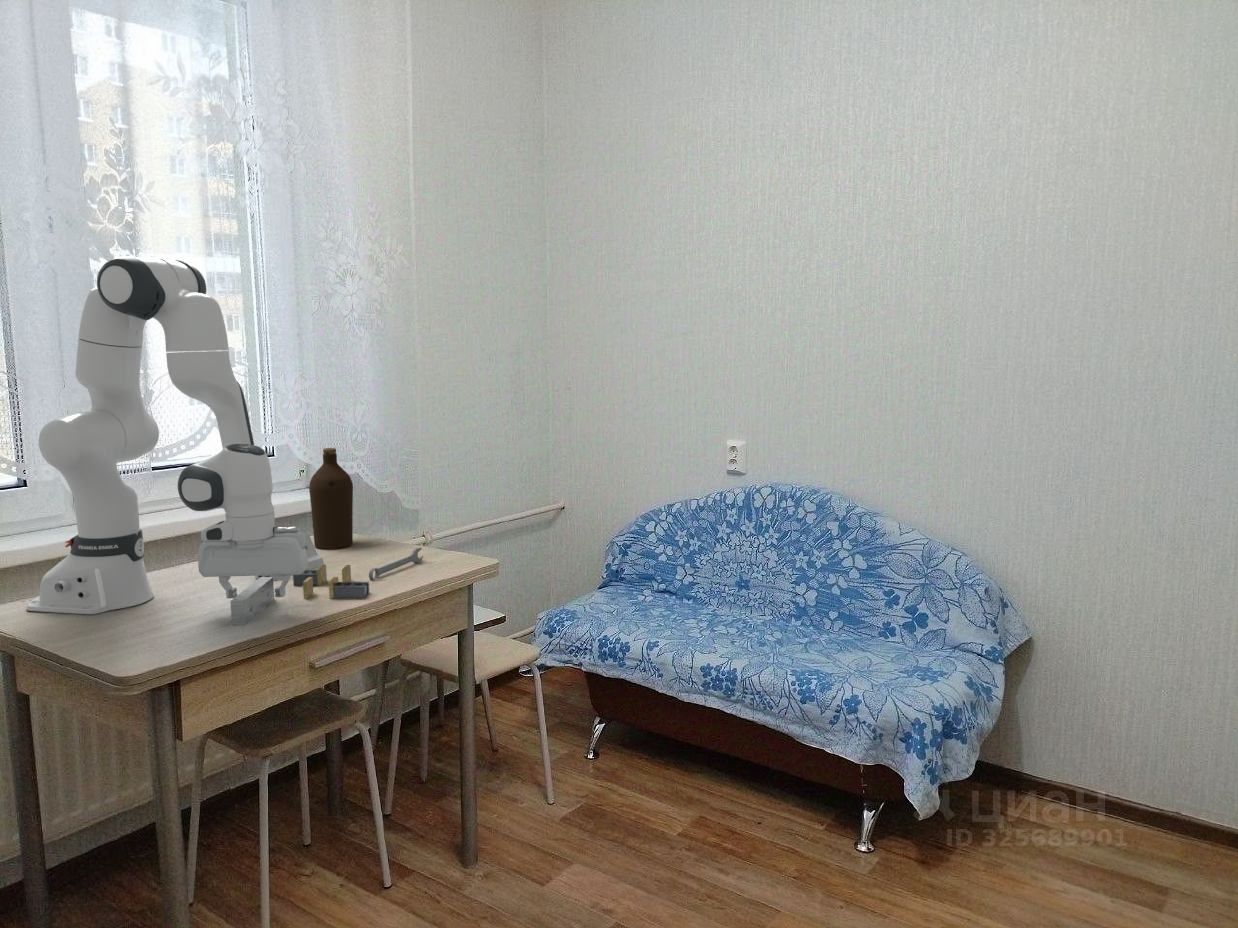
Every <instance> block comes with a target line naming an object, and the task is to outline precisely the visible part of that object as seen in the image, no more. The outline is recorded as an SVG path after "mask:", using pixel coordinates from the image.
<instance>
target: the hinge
mask: <svg viewBox="0 0 1238 928" xmlns="http://www.w3.org/2000/svg"><path fill="white" fill-rule="evenodd" d="M303 532H304V533H305V535H306V546H305V549H306V554H307V560H308V567H307V569H306V570H314V569H316V568H320V567H321V566H322V565H325V562H324V560H323V557H322V556H320V555H319V554H318V552H317V550H316V547H315V545H314V542H313V540H312V538H311V536H310V534H309V533H308V532H305V531H303ZM287 533H289V532H287ZM291 576H292V575H290V577H291ZM254 577H255V579H256V580H258V579H259V578H260V577H273V582H275V581H278V580H280V576H279V575H265V576H254Z"/></svg>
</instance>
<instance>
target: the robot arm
mask: <svg viewBox="0 0 1238 928" xmlns="http://www.w3.org/2000/svg"><path fill="white" fill-rule="evenodd" d="M152 319H154V320H156V321H157V322H158V323H159V324H160V325H161V327H162V329H163V333H164V341H165V352H166V353H165V354H166V355H165V356H166V366H167V371H168V376H169V378H170V380H171V383H172V384H173V385H174V387H175V388H176V389H177V390H178V391H179V392H181V393H182V394H184V395H185V396H187V397H189V398H191V399H193V400H196V401H199V402H200V403H202V404H204V405H206V406H207V407H208V408H209V409H210V410H211V411H212V412H213V414H214V416H215V418H216V422H217V427H218V428H217V429H218V431H219V432H218V433H219V436H220V442H221V447H222V450H221V451H220V452H218V453H217V454H215V455H213V456H212V457H209V458H207V459H205V460H201V461H198V462H195V463H193V464H191V465H188V466H186V467H185V468H183V469H182V471H181V472H180V474H179V476H178V479H177V491H178V492H177V493H178V496H179V497H180V500H181V502H182V503H183V504H184V505H185V507H187V508H188V509H190V510H192V511H195V512H209V511H215V510H216V509H223V510H224V512H225V514H224V515H225V520H221V521H218V522H217V523H214V524H211V525H210V526H208V527H205V528H204V529H202V530H201V532H200V539H201V540H202V543H200V545H199V548H198V555H197V559H198V560H197V561H198V562H197V564H198V572H199V574H200V575H201V576H202V577H204V578H214V577H215V578H216V577H217V578H218V582H219V584H220V586H222V588H223V589H224V591H225V595H226V599H227V600H228V599H230V600H231V599H234V598H235V597H236V596H237V595H238V593H237V591H238V588H237V587H233V586H232V584H231V582H230V581H229V580H230V579H231V577H255V576H265V575H279V576H280V579H279V581H282V582H281V584H280V586H277V587H275V588H274V598H284V597H286V586H287V585H288V583H289V581H290V579H291V576H293V575H300V574H302V573H303V572H304V571H305V570H306V569H307V567H308V560H307V554H306V549H305V546H306V535H305V533H306V532H305V531H303V530H302V529H300V528H298V527H297V526H290V527H283V526H277V527H276V520H275V508H274V505H273V503H272V493H273V478H272V477H273V476H272V470H271V464H270V460H269V457H268V454H267V452H266V451H265V449H264V448H262V447H260V446H258V445H255V442H254V441H255V440H254V436H253V432H252V427H251V426H252V425H251V421H250V417H249V416H250V415H249V411H248V407H247V402H246V398H245V395H244V392H243V388H242V386H241V384H240V383H239V381H238V380H237V379H236V376H235V374H234V371H233V368H232V367H233V366H232V363H231V357H230V351H229V341H228V334H227V329H226V328H227V327H226V324H225V320H224V315H223V312H222V308H221V306H220V304H219V302H218V301H217V300H216V299H215V298H214V297H212V296H210V295H208V294H207V283H206V280H205V277H204V276H203V274H202V273H201V271H200V270H199V269H198V268H196V267H194V266H193V265H192V264H189V263H188V262H185V261H182V260H178V259H170V258H164V257H160V256H159V257H158V256H148V257H147V256H140V257H138V256H137V257H136V256H135V257H134V256H129V255H127V256H126V255H125V256H121V257H116V258H113V259H110V260H109V261H107V262H105V263H104V264H103V265H102V266H101V268H100V269H99V272H98V274H97V277H96V286H95V287H93V288H91V289H90V291H89V292H88V294H87V296H86V299H85V302H84V307H83V309H82V313H81V319H80V323H79V331H78V339H77V350H76V362H75V377H76V379H77V381H78V383H79V384H80V385H81V386H82V387H84V388H86V389H87V391H88V393H89V397H90V401H91V410H90V411H83V412H73V413H69V414H66V415H63V416H60V417H58V418H57V417H56V418H55V419H53V420H51V421H48V422H47V423H46V424H45V425H44V426H43V427H42V428H41V430H40V431H39V435H38V448H39V451H40V454H41V456H42V457H43V459H44V460H45V461H46V462H47V464H49V465H50V466H52V467H53V468H55V469H56V470H57V471H59V473H60V474H61V475H62V477H63V478H64V480H65V481H66V483H67V485H68V487H69V489H70V492H71V496H72V499H73V502H74V510H75V511H74V512H75V517H76V518H75V519H76V527H77V535H75V536H73V537H72V538H70V539H69V540H66V541H64V543H65V544H66V545H65V546H64V547H65V548H68V547H70V552H69V554H68V555H67V556H66V557H65V558H63V559H62V560H61V561H59V562H58V563H57V564H56V565H54V567H51V569H49V570H48V571H47V572H45V574H44V575H43V577H42V579H41V582H40V585H39V587H40V588H39V595H38V596H37V597H35V598H33V599H32V600H30V601H29V602H28V603H27V611H31V612H42V613H43V612H45V613H60V614H61V613H62V614H78V615H79V614H81V615H97V614H100V613H104V612H108V611H112V610H113V611H114V610H117V609H124V608H125V609H126V608H129V607H133V606H137V605H141V604H143V603H145V602H148V601H150V600H152V599H153V598H154V592H153V590H152V588H151V586H150V585H151V584H150V582H149V579H148V575H147V571H146V567H145V562H144V556H145V545H144V535H143V529H141V528H140V527H141V525H140V516H139V515H140V514H139V512H140V511H139V501H138V495H137V492H136V491H135V490H134V488H132V487H131V486H129V485H127V484H125V483H124V480H123V479H122V477H121V476H120V473H119V470H118V466H117V464H118V463H124V462H127V461H134V460H136V459H138V458H141V457H142V456H144V455H146V454H148V453H150V452H151V451H152V450H154V449H155V447H156V446H157V444H158V443H159V442H158V441H159V437H160V431H159V426H158V423H157V421H156V419H154V417H153V415H151V414H150V413H149V412H148V411H147V409H146V407H145V404H144V400H143V396H142V391H141V381H140V380H141V379H140V377H141V366H142V365H141V363H142V362H141V361H142V351H143V342H144V341H143V339H144V330H145V329H144V328H145V325H146V323H147V322H148V321H149V320H152ZM287 532H289V533H287ZM304 532H305V533H304ZM290 575H291V576H290Z"/></svg>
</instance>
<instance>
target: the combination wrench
mask: <svg viewBox="0 0 1238 928" xmlns="http://www.w3.org/2000/svg"><path fill="white" fill-rule="evenodd" d="M421 550H422V547H416V548H414V549H413V550H412V552H411V554H410V555H409V556H406V557H403V558H400V559H398V560H395V561H393V562H389V563H387V564H385V565H382V566H379V567H372V568H371V569H370V570H369V572H368V578H369V580H370V581H375V580H378V579H379V577H380V576H381V575H383V574H385V573H389V572H391V571H394V570H395V569H398V568H399V567H402V566H405V565H407V564H409V563H411V562H412V563H414V564H417V563H416V562H419V563H421V562H422V560H424V559H423V558H424V555H421V556H419V552H420V551H421ZM420 561H421V562H420Z"/></svg>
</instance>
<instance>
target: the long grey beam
mask: <svg viewBox="0 0 1238 928" xmlns="http://www.w3.org/2000/svg"><path fill="white" fill-rule="evenodd" d="M274 601H275V588H274V581H273V577H270V576H266V577H260V578H259V579H256V580H255V581H254V582H253V583H252V584H250V585H249V586H248V587H246V588H245V589H244V590H243V591H241V592H240V593H239V594H237V596H236V597H235V598H231V599H230V601H229V602H230V616H231V617H230V618H231V627H237V626H236V625H238V626H239V625H241V626H242V627H243V626H244V627H245V625H246V626H247V625H248V624H249V623H250V622H252V620H253V619H255V618H256V617H257V616H258V615H259V614H260V613H261V612H262V611H263V610H264V609H266V608H267V607H268V606H269V605H270V604H272V602H274ZM241 626H239V627H241Z"/></svg>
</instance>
